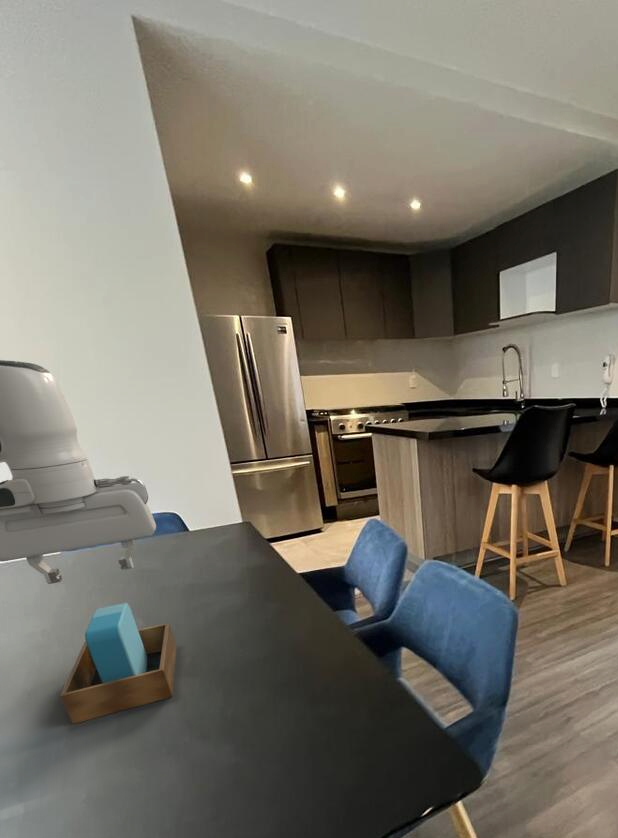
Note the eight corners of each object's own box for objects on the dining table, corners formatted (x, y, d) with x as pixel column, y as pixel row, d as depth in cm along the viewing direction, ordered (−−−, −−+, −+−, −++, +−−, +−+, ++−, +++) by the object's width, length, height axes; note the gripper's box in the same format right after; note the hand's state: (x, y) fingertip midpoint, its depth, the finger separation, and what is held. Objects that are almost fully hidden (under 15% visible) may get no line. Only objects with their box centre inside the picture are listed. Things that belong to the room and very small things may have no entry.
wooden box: (72, 724, 72) (59, 696, 70) (94, 665, 87) (84, 641, 85) (172, 696, 77) (163, 669, 75) (176, 646, 92) (169, 622, 90)
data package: (119, 667, 86) (96, 606, 82) (148, 660, 88) (127, 599, 83) (110, 703, 76) (82, 636, 72) (143, 694, 78) (118, 628, 73)
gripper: (143, 471, 76) (169, 555, 81) (-24, 491, 68) (17, 583, 74) (139, 477, 71) (167, 566, 76) (-42, 500, 63) (4, 597, 68)
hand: (92, 575), depth 75 cm, fingers open, 8 cm apart
